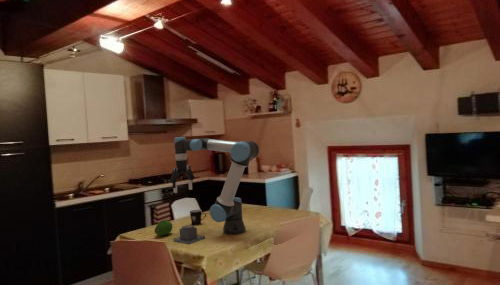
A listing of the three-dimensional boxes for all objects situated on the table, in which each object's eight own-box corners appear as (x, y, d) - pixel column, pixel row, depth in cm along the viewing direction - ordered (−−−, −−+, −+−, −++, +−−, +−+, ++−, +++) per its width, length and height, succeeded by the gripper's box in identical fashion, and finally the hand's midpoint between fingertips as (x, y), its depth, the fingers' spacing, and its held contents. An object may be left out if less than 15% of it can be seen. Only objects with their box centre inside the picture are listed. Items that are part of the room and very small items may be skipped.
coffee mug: (188, 224, 281) (187, 211, 280) (197, 222, 287) (196, 209, 287) (198, 226, 273) (197, 213, 272) (207, 224, 279) (206, 210, 279)
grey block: (180, 238, 240) (179, 226, 239) (188, 235, 246) (188, 224, 245) (188, 239, 235) (187, 228, 235) (197, 236, 241) (196, 225, 241)
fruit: (162, 239, 246) (161, 223, 245) (150, 238, 250) (149, 223, 249) (176, 232, 260) (175, 218, 259) (164, 232, 264) (163, 217, 263)
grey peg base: (189, 235, 251) (189, 225, 250) (204, 238, 242) (204, 228, 242) (173, 241, 239) (172, 231, 239) (188, 244, 231) (188, 233, 231)
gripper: (190, 158, 268) (192, 188, 268) (163, 161, 248) (165, 193, 249) (198, 158, 263) (200, 188, 264) (170, 161, 244) (172, 194, 244)
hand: (183, 191), depth 256 cm, fingers open, 13 cm apart
